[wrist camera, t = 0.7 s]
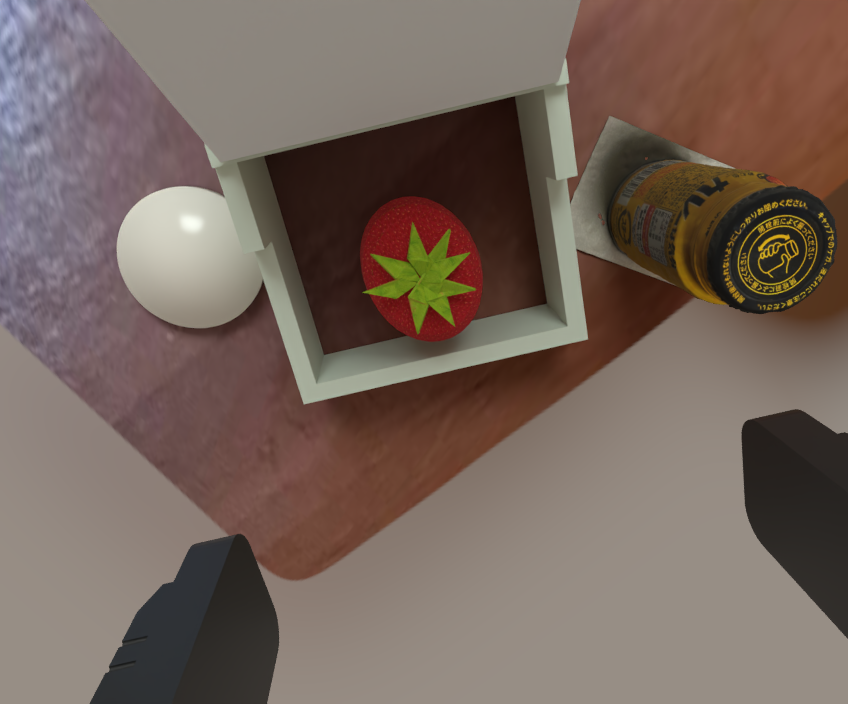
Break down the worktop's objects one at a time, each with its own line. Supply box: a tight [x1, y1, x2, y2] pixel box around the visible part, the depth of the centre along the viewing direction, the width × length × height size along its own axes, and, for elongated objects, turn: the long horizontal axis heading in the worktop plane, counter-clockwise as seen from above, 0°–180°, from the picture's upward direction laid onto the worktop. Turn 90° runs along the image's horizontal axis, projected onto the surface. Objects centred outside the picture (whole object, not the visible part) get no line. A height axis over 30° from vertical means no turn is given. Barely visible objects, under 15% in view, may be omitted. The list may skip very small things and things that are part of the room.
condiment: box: [570, 116, 837, 314], centre depth 30 cm, size 7×8×12 cm
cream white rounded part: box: [117, 186, 263, 328], centre depth 35 cm, size 8×8×1 cm
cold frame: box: [85, 0, 588, 404], centre depth 26 cm, size 20×16×18 cm
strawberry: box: [360, 196, 483, 342], centre depth 31 cm, size 6×8×10 cm
